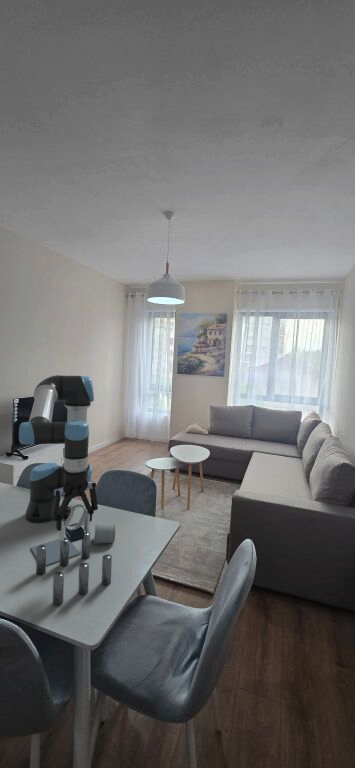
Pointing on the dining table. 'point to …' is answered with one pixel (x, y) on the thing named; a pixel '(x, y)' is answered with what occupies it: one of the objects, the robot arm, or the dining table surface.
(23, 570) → the dining table surface
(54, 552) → the mat
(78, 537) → the watch
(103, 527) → the ceramic mug
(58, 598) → the post field
